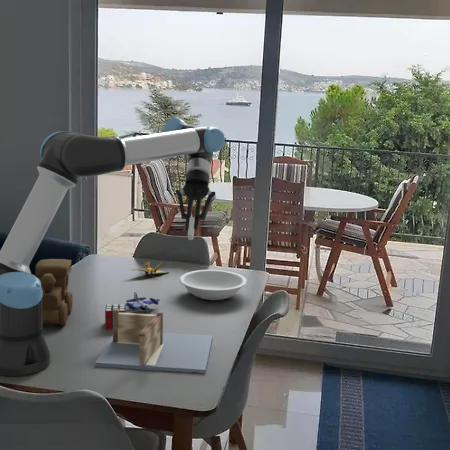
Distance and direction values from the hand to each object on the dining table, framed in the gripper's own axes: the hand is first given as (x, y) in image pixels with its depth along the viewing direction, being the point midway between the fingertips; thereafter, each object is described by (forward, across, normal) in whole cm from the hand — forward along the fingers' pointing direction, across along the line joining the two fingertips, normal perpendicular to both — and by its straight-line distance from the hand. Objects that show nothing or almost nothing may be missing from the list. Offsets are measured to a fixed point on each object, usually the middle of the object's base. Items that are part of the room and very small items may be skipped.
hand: (190, 237), depth 184 cm
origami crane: (-14, +21, -55) cm, 60 cm away
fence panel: (+37, +7, -1) cm, 38 cm away
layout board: (+35, +6, -5) cm, 36 cm away
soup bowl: (0, -5, -40) cm, 41 cm away
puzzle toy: (+23, +22, -17) cm, 36 cm away
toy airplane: (+14, +16, -27) cm, 34 cm away
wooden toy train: (+21, +43, -19) cm, 52 cm away
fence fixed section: (+32, +12, -7) cm, 35 cm away
